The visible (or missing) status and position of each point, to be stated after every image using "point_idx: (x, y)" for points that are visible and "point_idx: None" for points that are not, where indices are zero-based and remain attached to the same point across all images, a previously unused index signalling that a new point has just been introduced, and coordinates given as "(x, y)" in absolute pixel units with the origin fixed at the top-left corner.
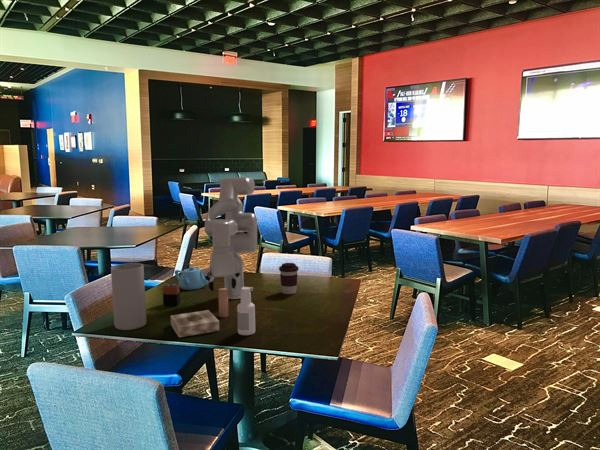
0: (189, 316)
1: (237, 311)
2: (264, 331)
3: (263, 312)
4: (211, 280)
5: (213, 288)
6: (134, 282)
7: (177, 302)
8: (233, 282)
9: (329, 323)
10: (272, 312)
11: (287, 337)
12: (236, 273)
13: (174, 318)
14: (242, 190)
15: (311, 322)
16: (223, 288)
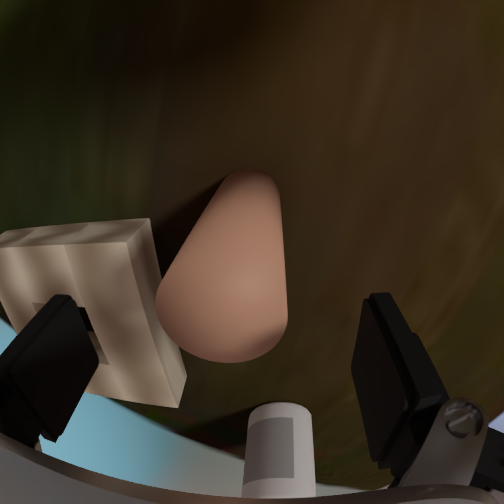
0: (44, 301)
1: (243, 484)
2: (337, 423)
3: (469, 241)
4: (29, 445)
5: (89, 380)
6: None
7: None
8: (366, 433)
9: (500, 401)
10: (493, 261)
11: (363, 453)
12: (498, 491)
13: (1, 293)
14: None
15: (486, 391)
16: (235, 282)
